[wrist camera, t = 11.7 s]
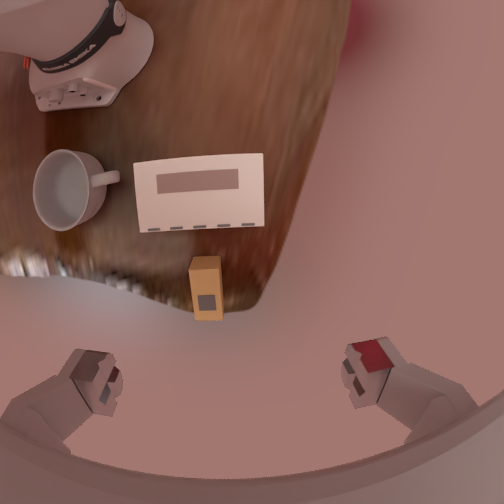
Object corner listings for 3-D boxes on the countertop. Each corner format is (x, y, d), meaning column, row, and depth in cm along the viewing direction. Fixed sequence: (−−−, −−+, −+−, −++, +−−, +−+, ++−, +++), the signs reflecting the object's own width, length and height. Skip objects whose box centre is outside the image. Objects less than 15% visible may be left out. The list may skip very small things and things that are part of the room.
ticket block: (150, 223, 38) (139, 232, 33) (145, 162, 35) (132, 163, 30) (260, 217, 38) (264, 226, 34) (259, 154, 35) (263, 153, 31)
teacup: (61, 216, 36) (33, 229, 28) (61, 151, 32) (30, 153, 25) (133, 219, 37) (111, 234, 30) (135, 146, 34) (112, 144, 26)
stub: (199, 303, 42) (195, 321, 38) (193, 256, 40) (188, 270, 35) (223, 302, 43) (223, 320, 38) (220, 255, 40) (218, 269, 35)
